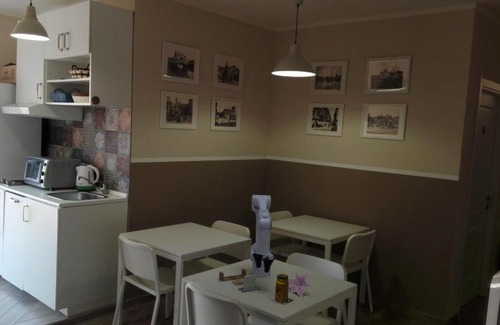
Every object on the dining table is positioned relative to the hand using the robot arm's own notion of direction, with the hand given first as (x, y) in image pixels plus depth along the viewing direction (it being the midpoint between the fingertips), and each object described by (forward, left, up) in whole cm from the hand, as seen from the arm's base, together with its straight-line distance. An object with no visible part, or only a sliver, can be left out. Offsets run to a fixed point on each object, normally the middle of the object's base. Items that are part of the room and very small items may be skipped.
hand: (262, 270), depth 220 cm
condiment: (-3, +14, -11) cm, 18 cm away
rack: (+7, -14, -10) cm, 19 cm away
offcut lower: (+7, -10, -10) cm, 16 cm away
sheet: (+7, 0, -10) cm, 12 cm away
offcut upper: (+7, -10, -9) cm, 15 cm away
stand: (+7, 0, -10) cm, 13 cm away
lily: (-15, +10, -11) cm, 21 cm away
